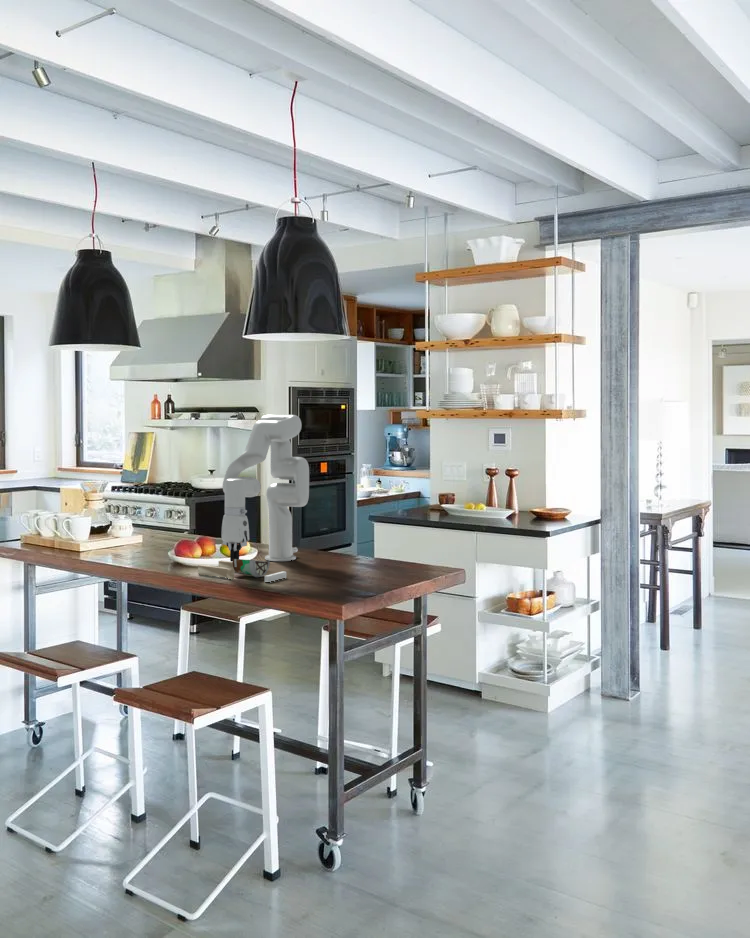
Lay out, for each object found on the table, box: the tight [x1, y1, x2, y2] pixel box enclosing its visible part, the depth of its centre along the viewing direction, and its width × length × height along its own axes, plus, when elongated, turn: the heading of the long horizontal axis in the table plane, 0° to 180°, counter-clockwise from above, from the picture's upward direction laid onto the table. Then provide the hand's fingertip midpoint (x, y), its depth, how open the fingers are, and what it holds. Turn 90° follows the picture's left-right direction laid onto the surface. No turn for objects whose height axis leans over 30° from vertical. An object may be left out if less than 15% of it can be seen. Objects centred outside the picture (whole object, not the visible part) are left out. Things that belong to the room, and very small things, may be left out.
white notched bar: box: [264, 571, 287, 583], centre depth 329 cm, size 11×2×2 cm, turn 149°
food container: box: [232, 558, 271, 578], centre depth 335 cm, size 12×6×10 cm
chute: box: [197, 560, 236, 580], centre depth 340 cm, size 17×18×4 cm
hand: (234, 560), depth 337 cm, fingers closed
